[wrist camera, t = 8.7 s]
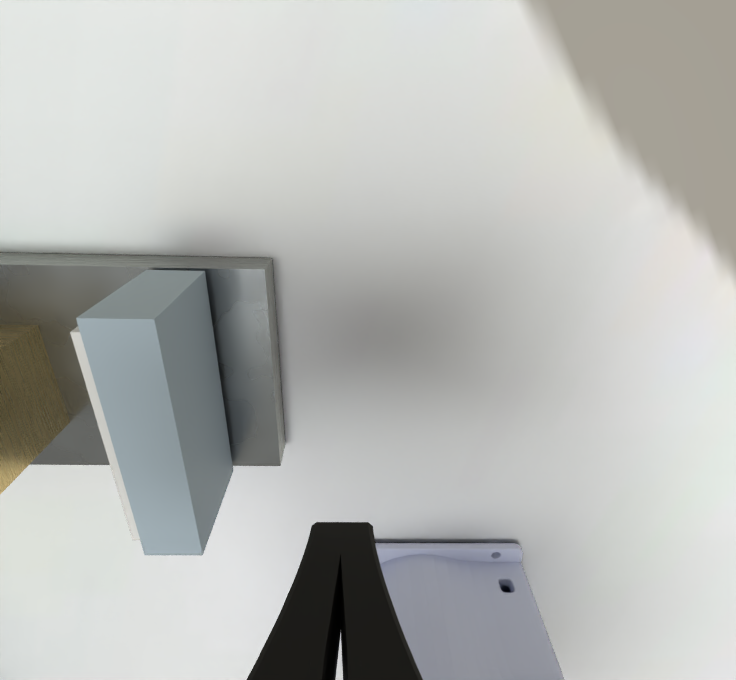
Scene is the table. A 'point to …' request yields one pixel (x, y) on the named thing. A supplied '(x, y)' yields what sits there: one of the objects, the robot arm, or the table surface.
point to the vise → (230, 326)
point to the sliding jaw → (159, 406)
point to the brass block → (26, 400)
